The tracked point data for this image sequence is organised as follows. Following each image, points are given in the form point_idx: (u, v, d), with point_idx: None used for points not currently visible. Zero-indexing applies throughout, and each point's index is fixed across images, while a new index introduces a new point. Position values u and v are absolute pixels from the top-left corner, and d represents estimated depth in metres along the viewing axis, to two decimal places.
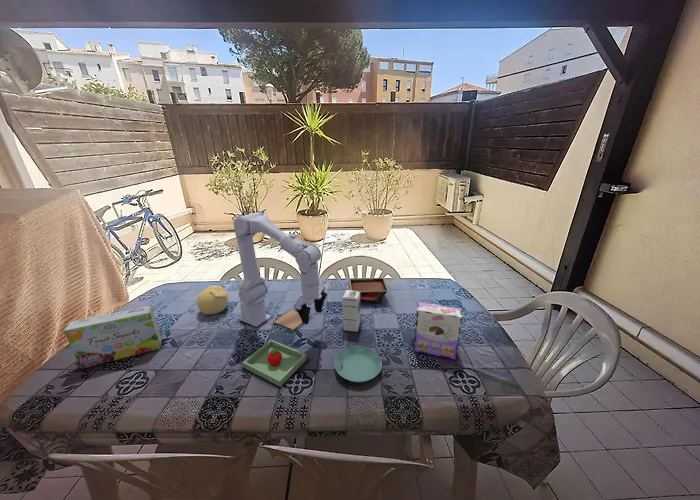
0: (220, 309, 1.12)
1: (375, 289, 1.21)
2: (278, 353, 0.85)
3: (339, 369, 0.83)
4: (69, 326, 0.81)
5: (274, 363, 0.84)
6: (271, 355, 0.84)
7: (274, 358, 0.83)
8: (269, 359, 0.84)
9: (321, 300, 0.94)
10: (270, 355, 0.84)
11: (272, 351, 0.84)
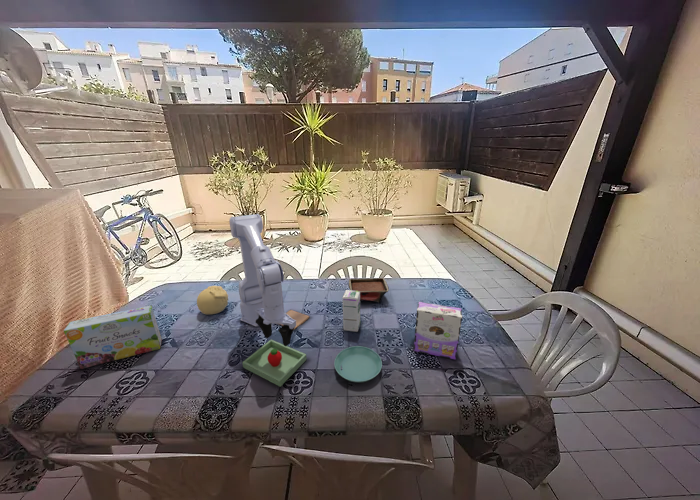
0: (220, 309, 1.12)
1: (375, 289, 1.21)
2: (278, 353, 0.85)
3: (339, 369, 0.83)
4: (69, 326, 0.81)
5: (274, 363, 0.84)
6: (271, 355, 0.84)
7: (274, 358, 0.83)
8: (269, 359, 0.84)
9: None
10: (270, 355, 0.84)
11: (272, 351, 0.84)
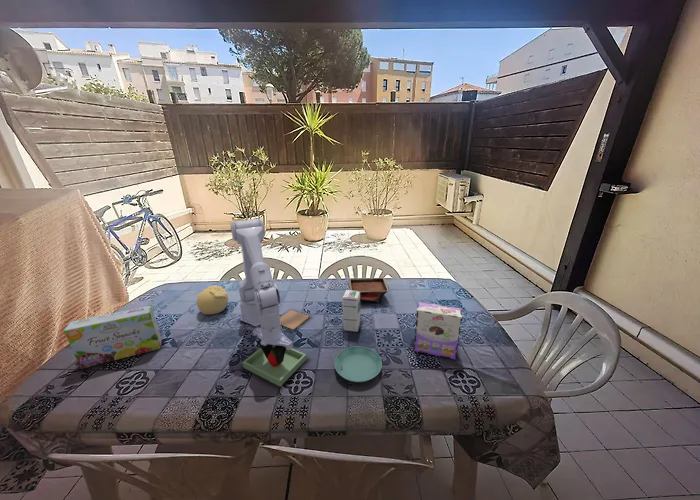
0: (220, 309, 1.12)
1: (375, 289, 1.21)
2: None
3: (339, 369, 0.83)
4: (69, 326, 0.81)
5: (274, 363, 0.84)
6: (271, 355, 0.84)
7: (274, 358, 0.83)
8: (269, 359, 0.84)
9: None
10: (270, 355, 0.84)
11: (272, 351, 0.84)
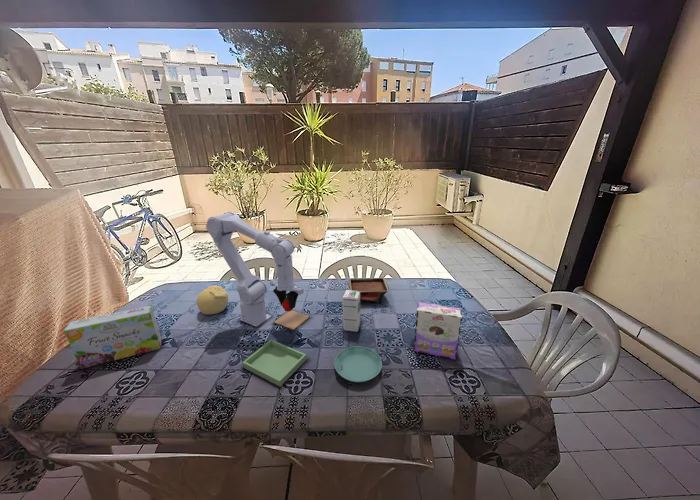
0: (220, 309, 1.12)
1: (375, 289, 1.21)
2: None
3: (339, 369, 0.83)
4: (69, 326, 0.81)
5: (288, 308, 1.00)
6: (285, 301, 1.01)
7: (288, 304, 1.00)
8: (283, 304, 1.00)
9: None
10: (284, 301, 1.01)
11: (286, 298, 1.01)
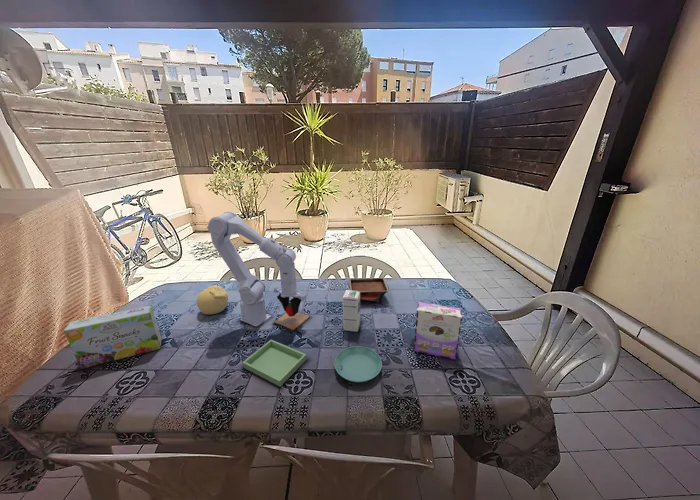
0: (220, 309, 1.12)
1: (375, 289, 1.21)
2: None
3: (339, 369, 0.83)
4: (69, 326, 0.81)
5: (291, 313, 1.05)
6: (288, 307, 1.05)
7: (291, 309, 1.05)
8: (287, 310, 1.05)
9: None
10: (288, 307, 1.06)
11: (289, 304, 1.06)
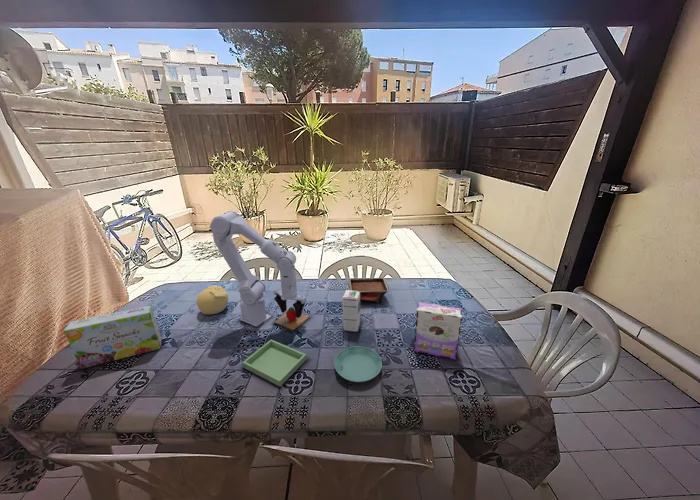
0: (220, 309, 1.12)
1: (375, 289, 1.21)
2: (294, 310, 1.07)
3: (339, 369, 0.83)
4: (69, 326, 0.81)
5: (291, 318, 1.06)
6: (289, 311, 1.06)
7: (291, 314, 1.06)
8: (287, 314, 1.06)
9: None
10: (288, 311, 1.06)
11: (290, 308, 1.07)
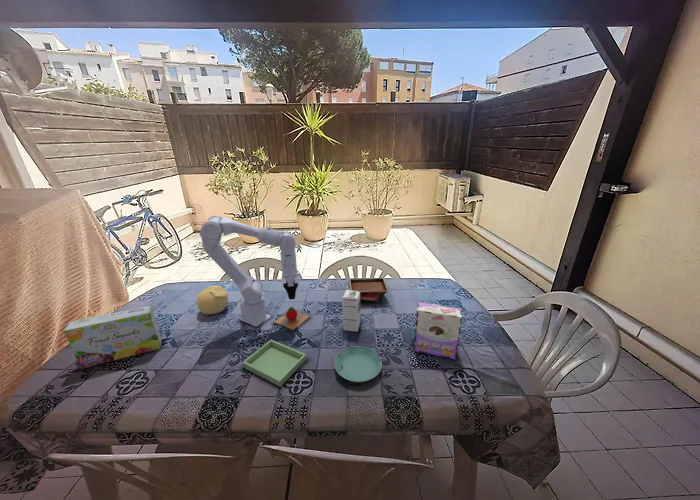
0: (220, 309, 1.12)
1: (375, 289, 1.21)
2: (294, 310, 1.07)
3: (339, 369, 0.83)
4: (69, 326, 0.81)
5: (291, 318, 1.06)
6: (289, 311, 1.06)
7: (291, 314, 1.06)
8: (287, 314, 1.06)
9: None
10: (288, 311, 1.06)
11: (290, 308, 1.07)
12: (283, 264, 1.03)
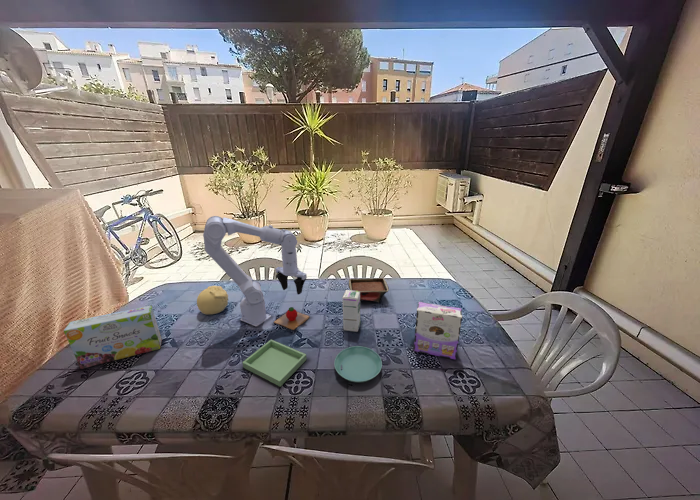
0: (220, 309, 1.12)
1: (375, 289, 1.21)
2: (294, 310, 1.07)
3: (339, 369, 0.83)
4: (69, 326, 0.81)
5: (291, 318, 1.06)
6: (289, 311, 1.06)
7: (291, 314, 1.06)
8: (287, 314, 1.06)
9: (287, 276, 1.13)
10: (288, 311, 1.06)
11: (290, 308, 1.07)
12: (285, 262, 1.05)
